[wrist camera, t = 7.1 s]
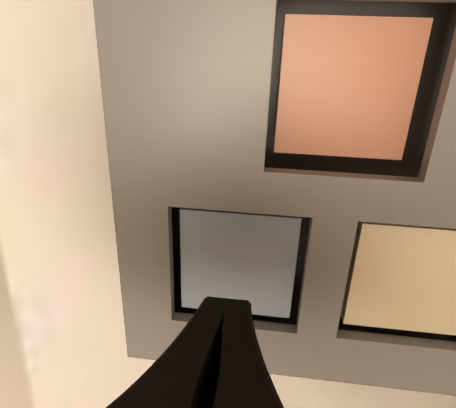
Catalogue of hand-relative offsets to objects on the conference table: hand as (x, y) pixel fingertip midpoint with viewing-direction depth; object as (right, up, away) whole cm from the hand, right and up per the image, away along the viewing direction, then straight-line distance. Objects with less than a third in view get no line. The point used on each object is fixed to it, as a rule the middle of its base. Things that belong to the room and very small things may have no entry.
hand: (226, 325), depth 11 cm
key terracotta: (+4, +8, +2) cm, 9 cm away
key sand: (+7, +1, +4) cm, 8 cm away
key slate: (+1, +2, +4) cm, 5 cm away
